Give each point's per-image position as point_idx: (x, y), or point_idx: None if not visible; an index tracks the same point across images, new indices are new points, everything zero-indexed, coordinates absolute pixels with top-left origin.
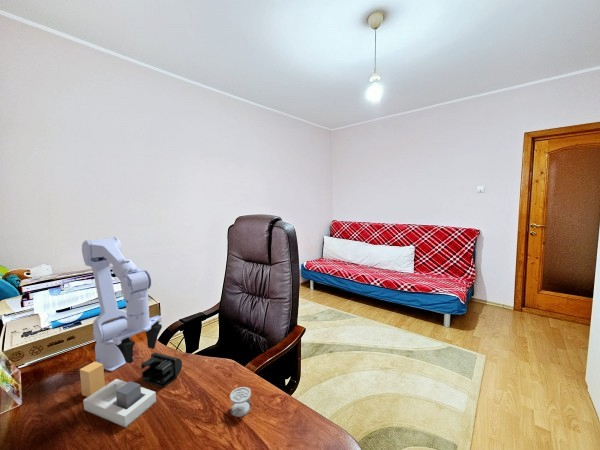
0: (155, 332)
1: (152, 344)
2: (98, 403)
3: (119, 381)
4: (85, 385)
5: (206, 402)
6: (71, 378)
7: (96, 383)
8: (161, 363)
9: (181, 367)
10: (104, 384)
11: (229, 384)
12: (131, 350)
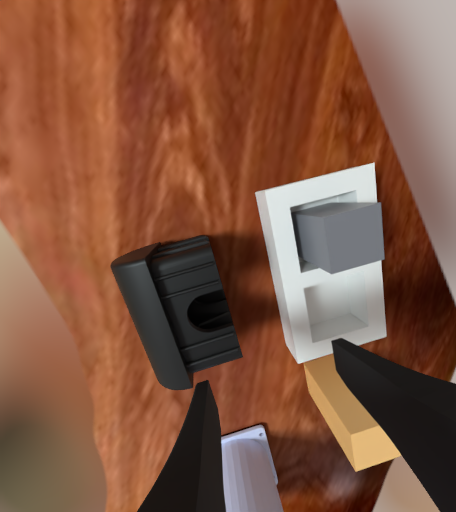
0: (199, 498)
1: (209, 406)
2: (377, 289)
3: (299, 343)
4: None
5: (153, 17)
6: (325, 460)
7: (341, 380)
8: (193, 294)
9: (123, 255)
10: (311, 373)
11: (23, 8)
12: (406, 381)
